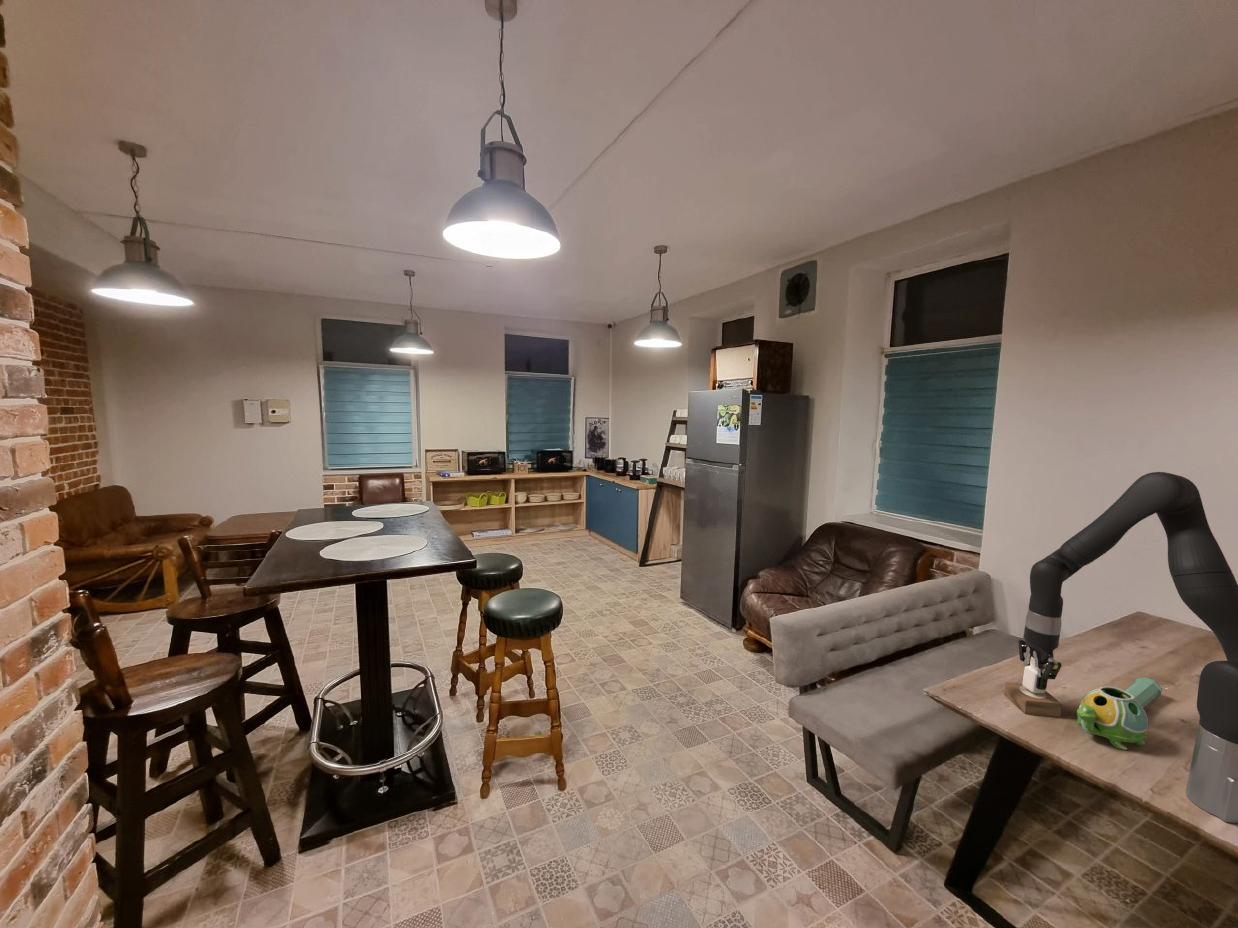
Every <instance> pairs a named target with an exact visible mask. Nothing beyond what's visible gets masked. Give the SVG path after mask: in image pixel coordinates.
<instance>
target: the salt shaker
mask: <svg viewBox="0 0 1238 928" xmlns="http://www.w3.org/2000/svg"><path fill="white" fill-rule="evenodd" d="M1040 665H1044V666H1045V665H1046V664H1040ZM1044 671H1045V669H1042V673H1044ZM1037 676H1038V674H1037V668H1036V667H1035V659H1034V658H1033V657H1031V661H1030V666H1026V667H1025V666H1024V671H1023V678H1022V683H1021V684H1023V686H1024V687H1025V688H1027V689H1028V690H1030V691H1031V692H1033V693H1045V692H1046V691H1047V688H1046V689H1045V690H1039V689H1037V688H1036V682H1037Z"/></svg>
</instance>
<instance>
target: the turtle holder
mask: <svg viewBox="0 0 1238 928" xmlns="http://www.w3.org/2000/svg"><path fill="white" fill-rule="evenodd" d="M1122 694H1123V695H1126V696H1127V697H1129V698H1128V699H1126V698H1125V697H1124V696H1123V695H1122ZM1078 704H1079V707H1078V708H1077V710H1076V715H1077V720H1076V723H1077V725H1079V726H1080V727H1081V729H1082V730H1083V731H1084V732H1085V733H1087V734H1089V735H1096V736H1100V737H1104V738H1107V739H1108V740H1109V743H1110V744H1111V746H1113V747H1114V748H1117V749H1119V750H1124V751H1127V750H1128V747H1127V746H1126V745H1124V744H1123V743H1121V742H1125V743H1133V744H1134V745H1137V746H1145V745H1146V742H1145V741H1144V740H1145V739H1146V738H1147V731H1148V729H1149V718H1148V716H1147V713H1146V711H1145V708H1142V706H1141V705H1140V703H1139V702H1138V701H1137V700H1136V699H1135V697H1134V696H1133V695H1132V694H1130V693H1128V692H1126V691H1125V690H1124V689H1121V688H1119V687H1114V686H1105V685H1104V686H1100V687H1098V688H1096V689H1093V690H1090V691H1088V692H1087V693H1085V694H1084V695H1083V696H1082V697H1081V700H1080V702H1079V703H1078Z"/></svg>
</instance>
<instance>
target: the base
mask: <svg viewBox="0 0 1238 928" xmlns="http://www.w3.org/2000/svg"><path fill="white" fill-rule="evenodd" d="M1003 692H1004V693H1003V696H1005V697H1006V698H1007V699H1008V700H1009V701H1010V702H1011V703H1012V704H1013V705H1015V707H1016V708H1017V709H1019V710H1020V711H1021V712H1022V713H1023V714H1024V713H1025V714H1024V715H1033V716H1043V717H1044V716H1045V717H1056V718H1060V717H1061V714H1062V713H1061V712H1062V706H1063V704H1062V702H1060V701H1059V700H1058V699H1056V697H1054V696H1053V695H1052V694H1051V693H1049V692H1048V691H1047V690H1046V692H1045V693H1033V692H1031V691H1030V690H1028V689H1027V688H1025V687H1024V686H1023V684H1022V683H1017V682H1008V681H1006V682H1005V683H1004V690H1003Z"/></svg>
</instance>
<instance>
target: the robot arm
mask: <svg viewBox="0 0 1238 928" xmlns="http://www.w3.org/2000/svg"><path fill="white" fill-rule="evenodd" d="M1155 514H1156V515H1157V518H1158V519H1159V521H1160V523H1161V525H1162V527H1163V530H1164V531H1165V536H1166V538H1167V539H1166V540H1167V563H1168V570H1169V573H1170V576H1171V578H1172V582H1173V584H1174V587H1175V589H1176V590H1177V593H1178V595H1179V598H1180V599H1181V601H1182V602H1183V603H1184V604H1185V606H1187V608H1188V609H1189V610H1190V611H1191V612H1192V613H1193V614H1195V616H1196V617H1197V618H1198V619H1200V620H1201V622H1202V623H1204V624H1205V625H1206V626H1207V627H1208V628H1209V629H1210V630H1211V632H1212V633H1213V634H1214V635H1215V637H1216V638H1217V640H1218V642H1219V643H1220V645H1221V648H1222V650H1223V652H1224V654H1225V657H1226V660H1214V661H1211V662H1208V663H1207V664H1206V665H1204V667H1203V668H1202V670H1201V671H1200V676H1199V680H1198V687H1197V688H1198V689H1197V697H1196V710H1197V713H1198V715H1199V721H1198V727H1197V731H1196V736H1195V742H1194V746H1193V750H1192V751H1193V753H1192V757H1191V760H1190V761H1191V762H1190V768H1189V772H1188V778H1187V782H1186V783H1187V784H1186V788H1185V789H1186V790H1185V795H1186V797H1187V798H1188V800H1190V801H1191V802H1192V803H1193V804H1195V805H1196V806H1197V807H1198V808H1200V809H1201V810H1203V811H1205V812H1207V813H1209V814H1212V815H1213V816H1215V817H1217V818H1219V819H1220V820H1222V821H1223V822H1225V823H1234V824H1238V581H1237V580H1236V578H1235V575H1234V573H1233V571H1232V569H1231V567H1230V565H1229V562H1228V561H1227V559H1226V557H1225V555H1224V552H1223V551H1222V548H1221V547H1220V545H1219V543H1218V541H1217V540H1216V539H1217V538H1215V536H1214V534H1213V531H1212V530H1211V527H1210V525H1209V522H1208V518H1207V516H1206V511H1205V508H1204V505H1203V500H1202V497H1201V494H1200V491H1199V488H1198V487H1197V485H1195V484H1194V482H1192V481H1191V480H1190V479H1189V478H1186V477H1184V476H1182V475H1178V474H1175V473H1170V472H1165V471H1154V472H1152V471H1151V472H1148V473H1146V474H1143V475H1141V476H1140V477H1139V478H1137V479H1136V480H1135V481H1134V482H1133V483H1132V484H1130V486H1129V487H1128V488H1127V489H1126V490H1125V491H1124V492H1123V494H1121V495H1120V496H1119V498H1117V500H1115V502H1113V504H1112V505H1110V506H1109V507H1108V508H1107V509H1106V510H1105V511H1104V512H1103V513H1102V514H1100V515H1099V516H1098V517H1097V518H1096V519H1094V520H1093V521H1092V522H1090V523H1089V524H1088V525H1087V526H1086V527H1084V528H1083V529H1081V530H1080V531H1079V532H1078V531H1077V533H1075V534H1074V535H1073V536H1072V537H1070V538H1069V539H1068V540H1066V541H1065V542H1064V543H1062V545H1061V546H1060V547H1059V548H1058V549H1056V550H1055V551H1053V552H1051V553H1050V554H1049V555H1047V556H1045V557H1044V558H1043V559H1041V560H1039V561H1037V562H1035V563H1034V564H1033V565H1032V567H1031V568H1030V571H1029V572H1030V573H1029V587H1030V588H1029V589H1030V597H1029V603H1028V609H1027V613H1026V616H1025V625H1024V632H1023V639H1018V641H1017V642H1018V652H1019V660H1020V661H1021V662H1023V665H1024V668H1025V667H1026V666H1030V661H1031V657H1033V658H1034V659H1035V667H1036V668H1037V674H1038V676H1037V682H1036V688H1037V689H1039V690H1045V689H1046V690H1047V687H1048V680H1056V678H1057V676H1058V674H1059V672H1060V670H1061V668H1062V663H1061V661H1056V660H1055V658H1054V651H1055V650H1056V649H1058V647H1059V645H1060V638H1061V637H1060V636H1061V629H1062V615H1063V610H1064V609H1063V608H1064V607H1063V606H1064V598H1063V596H1062V588H1063V582H1065V581H1067V580H1068V579H1069V578H1070V577H1072V576H1074V575H1075V574H1076V573H1077V572H1078V571H1080V570H1081V569H1082V568H1084V567H1085V566H1088V565H1089V564H1092V563H1093V562H1094V561H1096V560H1098V559H1099V558H1100V557H1102V556H1104V555H1105V554H1107V552H1109V551H1110V550H1111V549H1113V548H1114V547H1115V546H1116V545H1117V544H1118V543H1119V541H1121V539H1122V538H1123V537H1124V536H1125V535H1126V534H1127V533H1128V531H1130V530H1131V529H1132V528H1133V527H1134V526H1135V525H1137V524H1138V523H1140V522H1141V521H1143V520H1145V519H1147V518H1148V517H1150V516H1152V515H1155ZM1040 664H1045V666H1044V665H1040ZM1042 669H1044V670H1045V671H1044V673H1042Z"/></svg>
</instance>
